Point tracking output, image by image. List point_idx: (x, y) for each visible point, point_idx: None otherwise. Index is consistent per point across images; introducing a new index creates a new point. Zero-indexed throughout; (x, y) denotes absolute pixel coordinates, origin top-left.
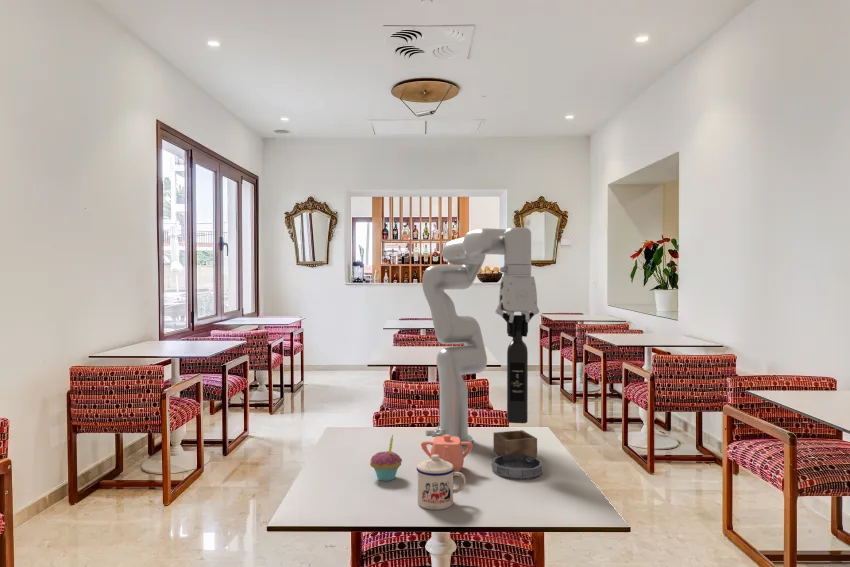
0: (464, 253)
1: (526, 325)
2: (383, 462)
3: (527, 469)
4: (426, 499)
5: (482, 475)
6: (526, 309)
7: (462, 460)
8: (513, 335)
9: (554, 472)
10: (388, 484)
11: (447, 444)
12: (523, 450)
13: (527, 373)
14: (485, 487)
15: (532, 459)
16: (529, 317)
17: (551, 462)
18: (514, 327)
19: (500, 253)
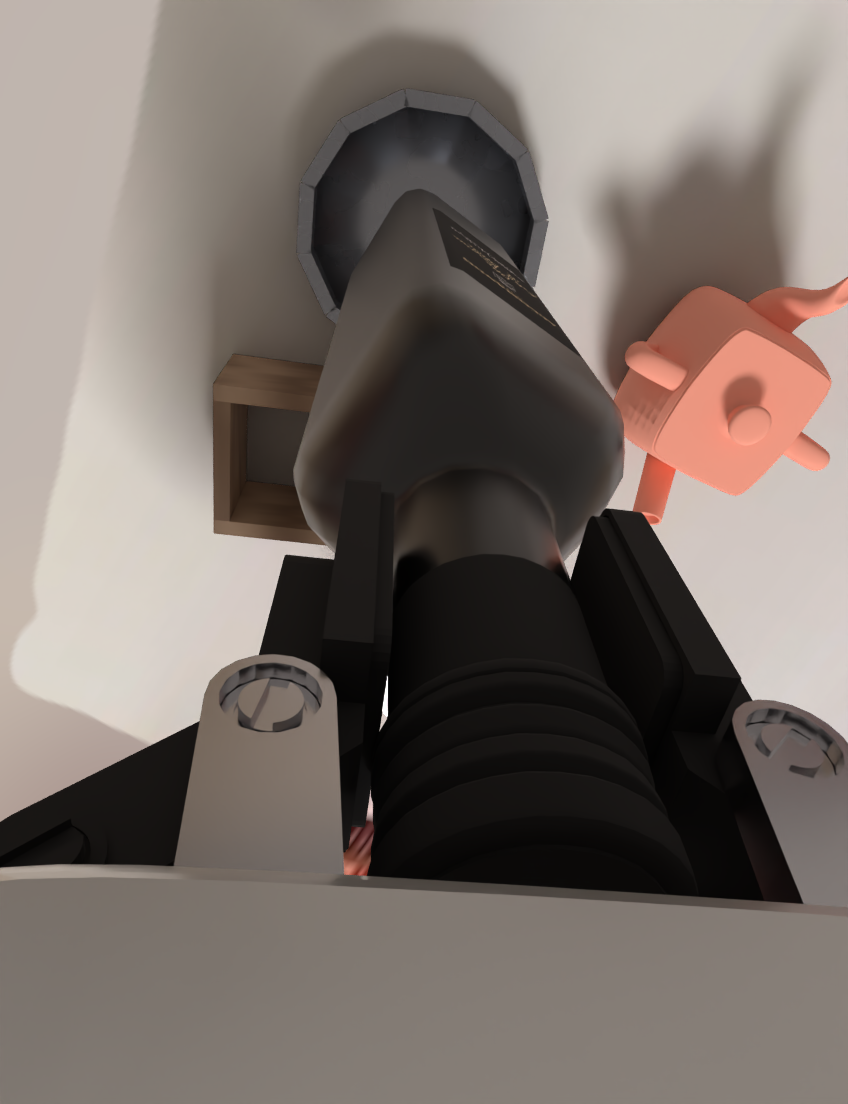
0: None
1: (345, 592)
2: None
3: (444, 98)
4: None
5: (597, 246)
6: (428, 943)
7: (685, 311)
8: (632, 517)
9: (261, 127)
10: None
11: (788, 350)
12: (298, 376)
13: (397, 254)
14: (687, 86)
15: (315, 260)
16: (199, 753)
17: (197, 270)
18: (657, 605)
19: None
